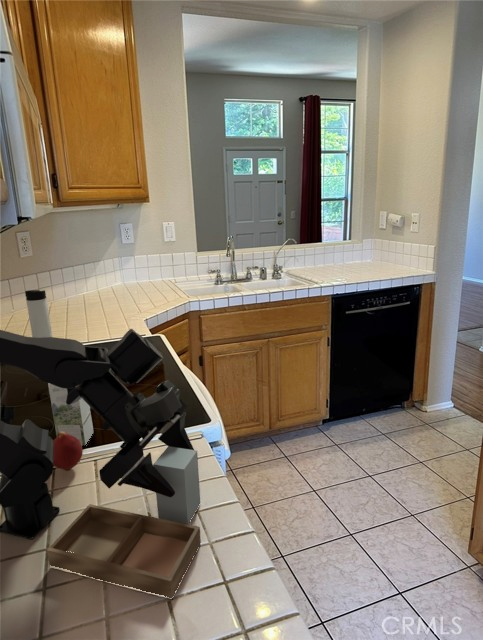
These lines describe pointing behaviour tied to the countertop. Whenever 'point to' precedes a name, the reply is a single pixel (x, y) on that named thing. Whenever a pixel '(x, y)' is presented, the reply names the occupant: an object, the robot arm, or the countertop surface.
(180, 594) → the countertop surface
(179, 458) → the grey tall block
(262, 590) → the countertop surface
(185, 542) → the slot holder
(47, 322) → the travel mug
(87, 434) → the syrup box
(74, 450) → the onion
